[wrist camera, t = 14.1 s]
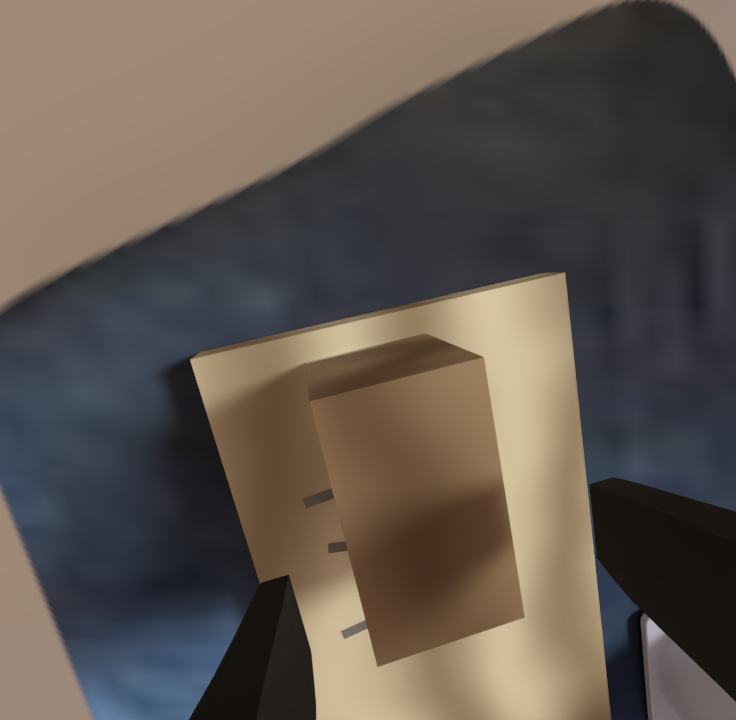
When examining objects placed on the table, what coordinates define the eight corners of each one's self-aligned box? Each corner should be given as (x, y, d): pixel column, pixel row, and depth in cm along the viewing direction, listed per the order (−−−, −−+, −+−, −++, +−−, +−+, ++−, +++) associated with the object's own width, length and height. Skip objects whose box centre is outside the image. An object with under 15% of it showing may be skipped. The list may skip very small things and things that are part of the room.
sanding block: (425, 333, 16) (484, 357, 11) (460, 522, 17) (524, 617, 12) (305, 362, 15) (309, 401, 10) (354, 555, 17) (377, 667, 12)
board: (542, 273, 17) (565, 272, 16) (593, 718, 23) (614, 749, 21) (199, 352, 16) (189, 359, 14) (340, 813, 21) (344, 853, 20)
